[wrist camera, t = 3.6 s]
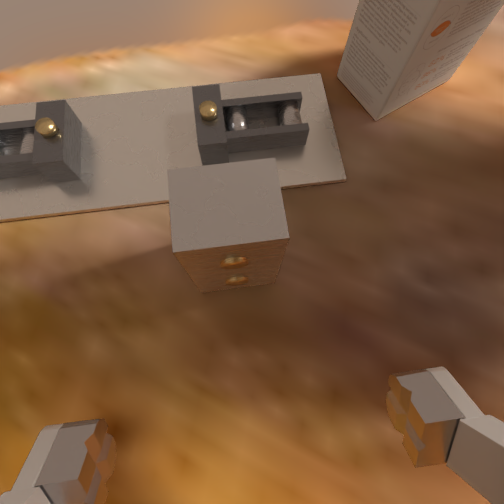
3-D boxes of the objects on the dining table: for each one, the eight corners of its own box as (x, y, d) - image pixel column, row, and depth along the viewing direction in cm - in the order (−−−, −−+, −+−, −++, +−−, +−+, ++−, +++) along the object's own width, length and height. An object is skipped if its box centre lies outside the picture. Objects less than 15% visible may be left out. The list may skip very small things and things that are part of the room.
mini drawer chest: (265, 226, 24) (274, 153, 16) (274, 286, 23) (290, 242, 14) (196, 235, 24) (166, 165, 15) (201, 295, 23) (172, 257, 14)
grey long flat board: (319, 77, 28) (328, 39, 25) (345, 181, 25) (359, 154, 22) (-49, 114, 27) (-91, 79, 24) (-68, 230, 24) (-119, 209, 21)
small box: (406, 39, 30) (487, -123, 20) (449, 83, 28) (559, -69, 18) (333, 76, 28) (379, -78, 18) (374, 124, 27) (447, -15, 17)
